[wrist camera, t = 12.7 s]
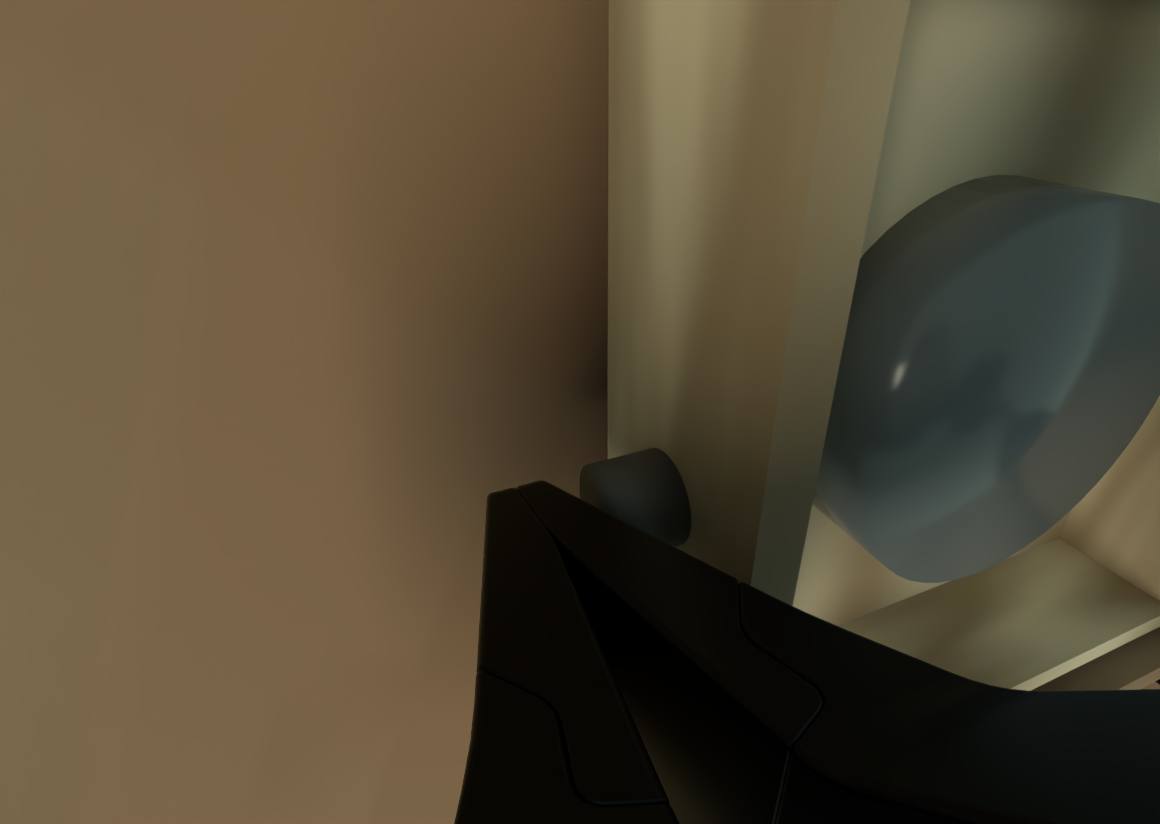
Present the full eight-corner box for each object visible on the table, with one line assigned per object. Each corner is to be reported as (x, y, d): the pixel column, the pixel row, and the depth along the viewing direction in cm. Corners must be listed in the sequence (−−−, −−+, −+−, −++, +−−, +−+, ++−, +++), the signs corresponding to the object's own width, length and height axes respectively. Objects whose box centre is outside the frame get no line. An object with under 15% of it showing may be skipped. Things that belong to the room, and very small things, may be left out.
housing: (1349, -130, 12) (1795, -197, 9) (1059, 533, 20) (1231, 640, 17) (708, -200, 8) (1089, -396, 4) (655, 692, 16) (773, 886, 12)
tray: (1326, -114, 12) (1720, -168, 8) (1041, 552, 19) (1194, 653, 16) (519, -188, 7) (745, -379, 4) (564, 743, 14) (650, 941, 11)
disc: (827, 188, 10) (939, 218, 8) (1132, 164, 12) (1264, 184, 11) (758, 555, 13) (827, 627, 12) (1007, 480, 16) (1092, 530, 14)
